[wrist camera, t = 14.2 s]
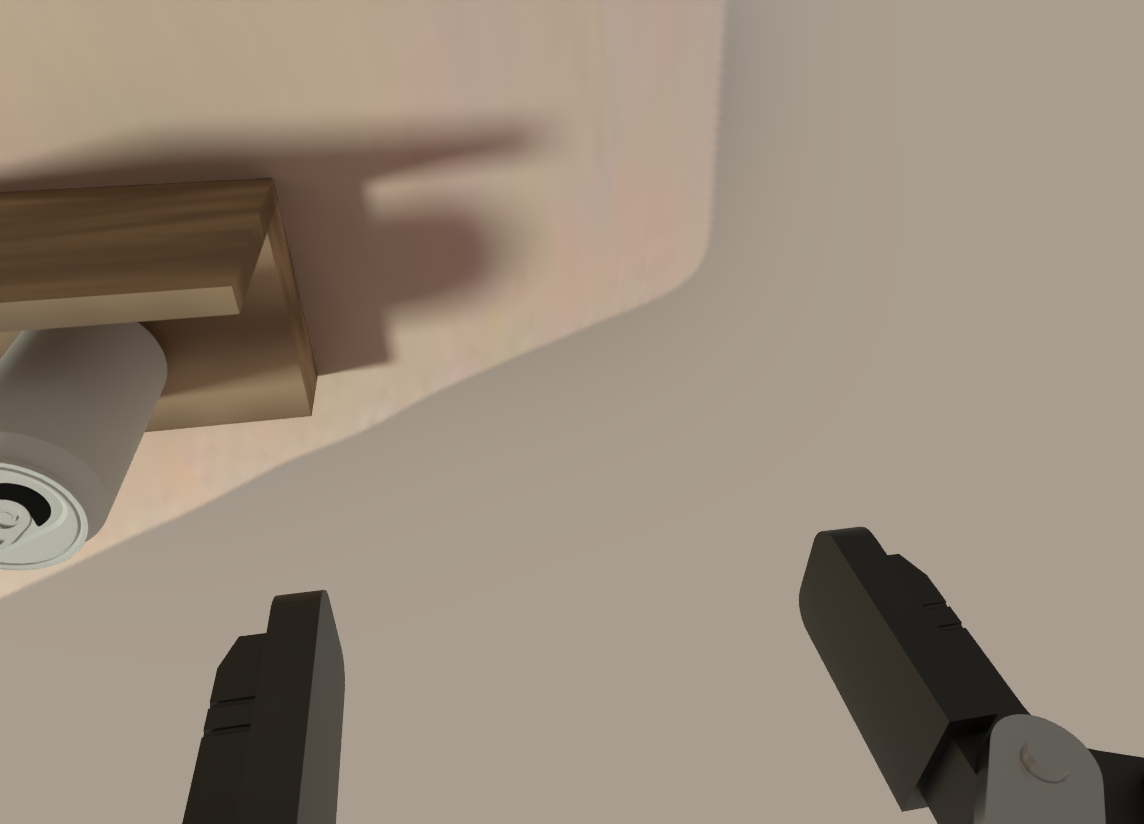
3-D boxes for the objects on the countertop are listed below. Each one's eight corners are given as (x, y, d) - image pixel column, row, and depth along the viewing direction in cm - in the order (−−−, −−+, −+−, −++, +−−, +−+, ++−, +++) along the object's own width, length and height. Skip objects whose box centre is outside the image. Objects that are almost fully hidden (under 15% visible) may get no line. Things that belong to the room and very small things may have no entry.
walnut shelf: (-128, 199, 36) (-316, 325, 27) (272, 178, 39) (231, 286, 29) (-14, 406, 43) (-130, 564, 34) (317, 376, 46) (296, 515, 36)
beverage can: (197, 349, 39) (133, 512, 30) (124, 425, 41) (41, 601, 31) (73, 269, 36) (-45, 424, 26) (-2, 355, 37) (-137, 530, 28)
